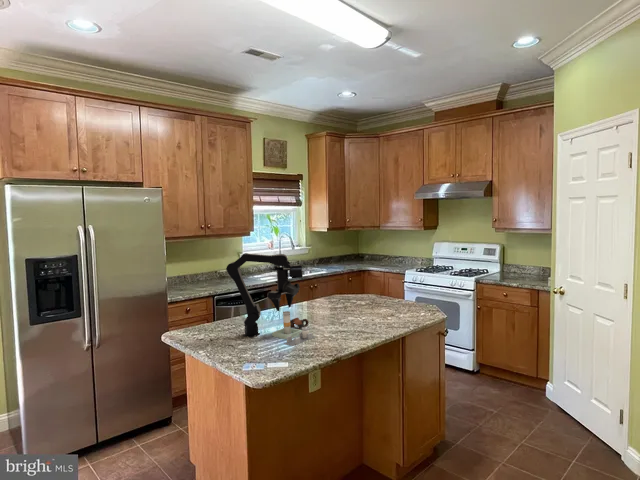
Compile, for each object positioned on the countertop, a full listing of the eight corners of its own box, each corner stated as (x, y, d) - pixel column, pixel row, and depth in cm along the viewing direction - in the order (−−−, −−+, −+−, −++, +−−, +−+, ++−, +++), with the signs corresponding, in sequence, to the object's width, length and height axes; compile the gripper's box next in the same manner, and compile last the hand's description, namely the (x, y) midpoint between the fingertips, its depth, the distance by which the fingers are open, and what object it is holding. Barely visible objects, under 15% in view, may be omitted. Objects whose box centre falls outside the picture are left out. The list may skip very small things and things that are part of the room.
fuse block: (283, 345, 194) (282, 338, 194) (306, 336, 207) (306, 329, 207) (292, 348, 190) (292, 340, 190) (315, 338, 204) (315, 331, 203)
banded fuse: (283, 336, 207) (282, 312, 206) (285, 334, 210) (284, 311, 210) (289, 336, 206) (289, 313, 205) (291, 334, 210) (290, 311, 209)
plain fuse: (300, 338, 202) (300, 328, 202) (305, 336, 205) (304, 326, 205) (306, 339, 200) (306, 329, 200) (310, 337, 203) (310, 327, 202)
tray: (272, 338, 207) (272, 332, 207) (285, 332, 216) (285, 327, 215) (289, 341, 201) (289, 335, 201) (302, 335, 210) (302, 330, 209)
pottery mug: (292, 336, 211) (286, 321, 213) (289, 339, 219) (282, 325, 221) (313, 327, 216) (306, 312, 218) (308, 330, 224) (302, 316, 226)
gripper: (283, 282, 200) (284, 314, 201) (306, 277, 215) (307, 306, 216) (266, 281, 206) (267, 312, 207) (289, 275, 221) (290, 304, 222)
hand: (284, 309), depth 213 cm, fingers open, 9 cm apart
